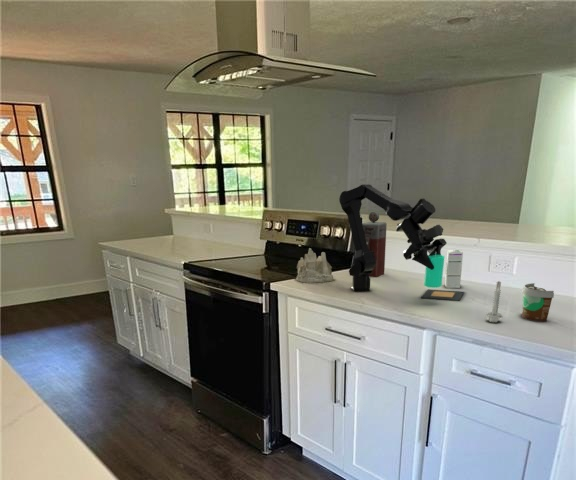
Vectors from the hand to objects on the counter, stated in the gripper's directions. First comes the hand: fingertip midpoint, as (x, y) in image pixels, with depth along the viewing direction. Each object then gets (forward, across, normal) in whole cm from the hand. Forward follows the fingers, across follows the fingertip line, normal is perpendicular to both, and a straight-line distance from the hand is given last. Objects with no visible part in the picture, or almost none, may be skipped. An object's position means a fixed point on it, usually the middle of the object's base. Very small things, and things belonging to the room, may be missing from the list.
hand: (437, 267), depth 178 cm
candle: (+4, 0, +6) cm, 7 cm away
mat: (+6, +14, +13) cm, 20 cm away
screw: (+28, -6, -9) cm, 30 cm away
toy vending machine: (-27, +26, +47) cm, 60 cm away
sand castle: (-36, +2, +56) cm, 67 cm away
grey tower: (+2, +29, +18) cm, 34 cm away
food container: (+32, +6, -14) cm, 35 cm away
